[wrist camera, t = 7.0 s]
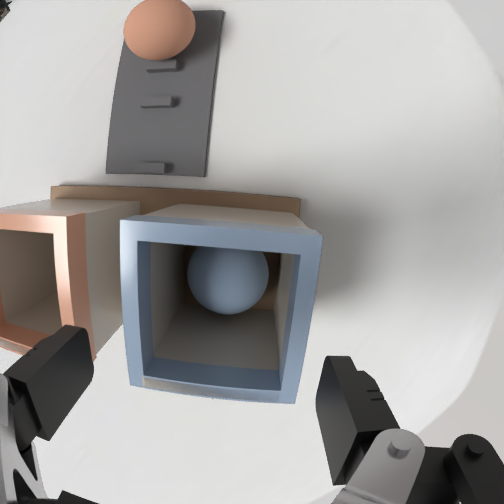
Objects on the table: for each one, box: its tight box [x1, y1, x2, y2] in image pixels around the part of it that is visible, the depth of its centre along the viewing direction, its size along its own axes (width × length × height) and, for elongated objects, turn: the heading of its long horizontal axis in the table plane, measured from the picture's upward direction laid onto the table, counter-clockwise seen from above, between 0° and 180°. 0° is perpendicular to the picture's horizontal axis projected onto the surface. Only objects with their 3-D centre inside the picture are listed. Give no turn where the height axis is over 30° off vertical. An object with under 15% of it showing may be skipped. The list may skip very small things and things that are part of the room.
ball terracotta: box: [124, 0, 195, 60], centre depth 17 cm, size 5×5×5 cm
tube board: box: [51, 186, 301, 311], centre depth 23 cm, size 10×20×1 cm, turn 85°
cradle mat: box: [106, 10, 223, 177], centre depth 20 cm, size 14×8×1 cm, turn 175°
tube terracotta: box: [0, 199, 140, 361], centre depth 18 cm, size 8×8×10 cm
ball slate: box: [187, 246, 269, 314], centre depth 20 cm, size 5×5×5 cm
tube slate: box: [120, 204, 323, 404], centre depth 18 cm, size 8×8×10 cm
